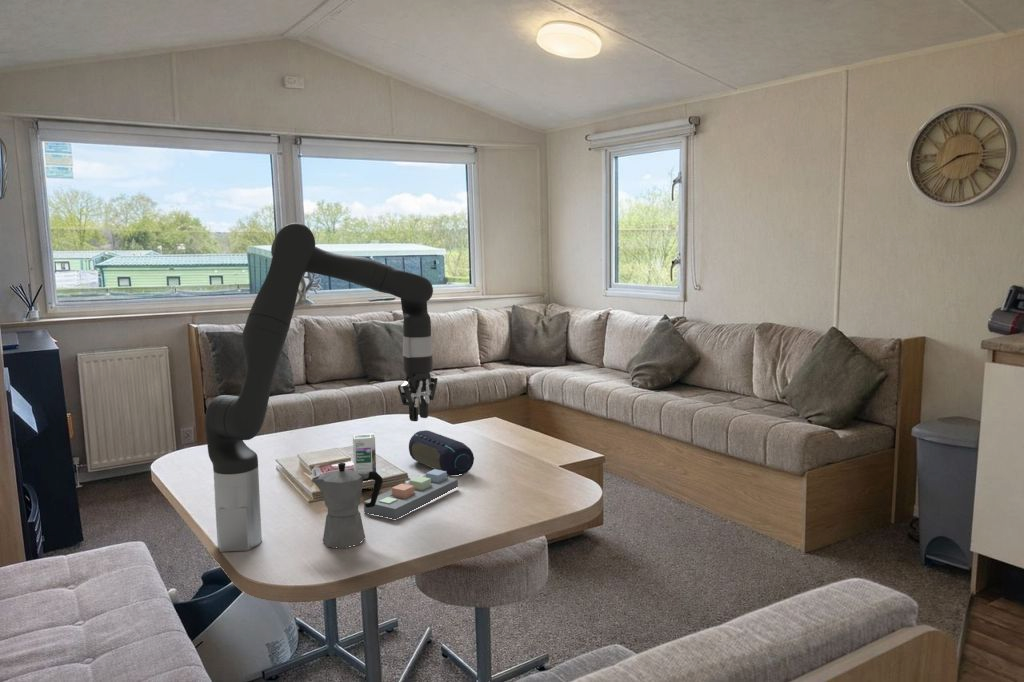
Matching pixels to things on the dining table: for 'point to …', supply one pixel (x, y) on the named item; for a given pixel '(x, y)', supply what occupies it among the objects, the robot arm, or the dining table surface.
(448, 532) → the dining table surface
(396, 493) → the terracotta button
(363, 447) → the syrup box
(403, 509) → the button panel
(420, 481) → the sage button
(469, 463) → the portable speaker
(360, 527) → the coffeepot
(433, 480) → the slate button
